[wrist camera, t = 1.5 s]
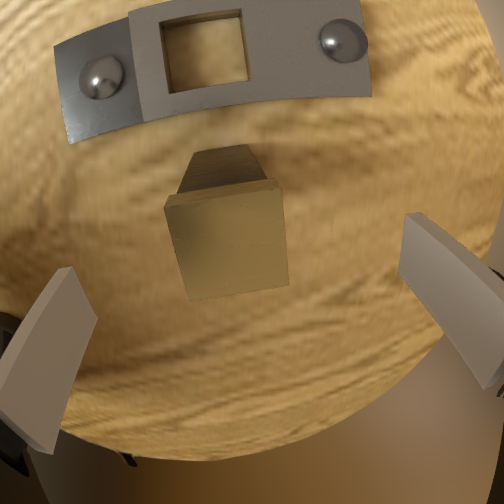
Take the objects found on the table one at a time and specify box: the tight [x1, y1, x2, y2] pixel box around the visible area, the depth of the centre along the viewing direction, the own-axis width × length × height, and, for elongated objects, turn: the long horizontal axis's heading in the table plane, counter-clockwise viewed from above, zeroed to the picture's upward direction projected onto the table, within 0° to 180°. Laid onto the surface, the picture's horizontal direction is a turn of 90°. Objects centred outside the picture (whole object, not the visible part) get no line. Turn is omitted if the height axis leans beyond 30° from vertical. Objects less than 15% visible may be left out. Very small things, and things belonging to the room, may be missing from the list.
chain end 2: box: [128, 0, 372, 122], centre depth 18 cm, size 17×9×3 cm, turn 97°
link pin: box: [164, 144, 289, 301], centre depth 18 cm, size 5×5×13 cm
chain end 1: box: [54, 13, 250, 145], centre depth 18 cm, size 16×9×2 cm, turn 97°
